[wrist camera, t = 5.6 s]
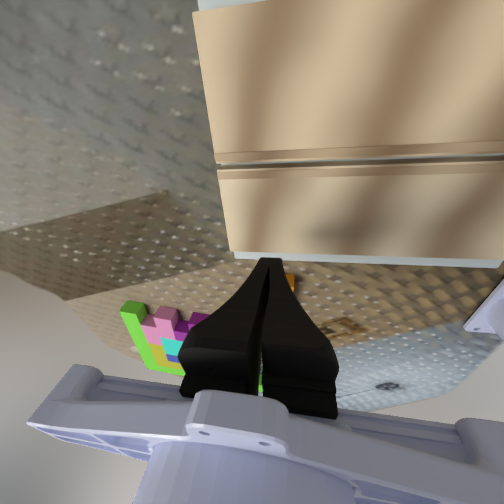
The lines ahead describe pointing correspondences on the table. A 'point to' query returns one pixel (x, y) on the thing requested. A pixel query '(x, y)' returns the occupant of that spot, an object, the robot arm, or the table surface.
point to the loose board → (368, 207)
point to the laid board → (353, 78)
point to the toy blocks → (163, 334)
